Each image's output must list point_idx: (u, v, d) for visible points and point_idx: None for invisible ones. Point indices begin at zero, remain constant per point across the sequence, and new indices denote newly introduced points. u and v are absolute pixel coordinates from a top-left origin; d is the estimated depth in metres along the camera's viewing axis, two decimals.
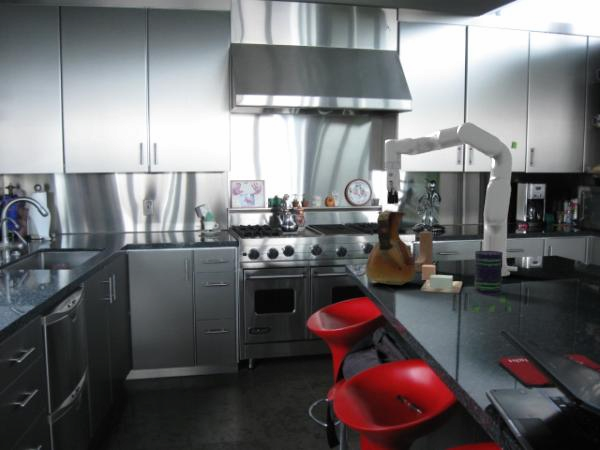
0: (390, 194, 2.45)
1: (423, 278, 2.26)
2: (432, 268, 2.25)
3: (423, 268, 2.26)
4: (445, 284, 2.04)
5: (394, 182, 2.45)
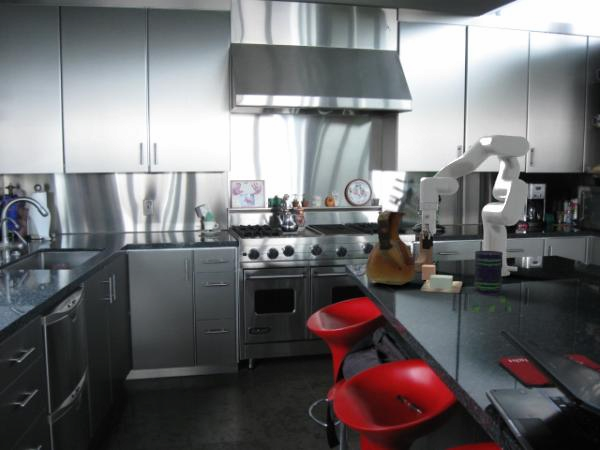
0: (426, 238, 2.21)
1: (423, 278, 2.26)
2: (432, 268, 2.25)
3: (423, 268, 2.26)
4: (445, 284, 2.04)
5: (430, 225, 2.21)
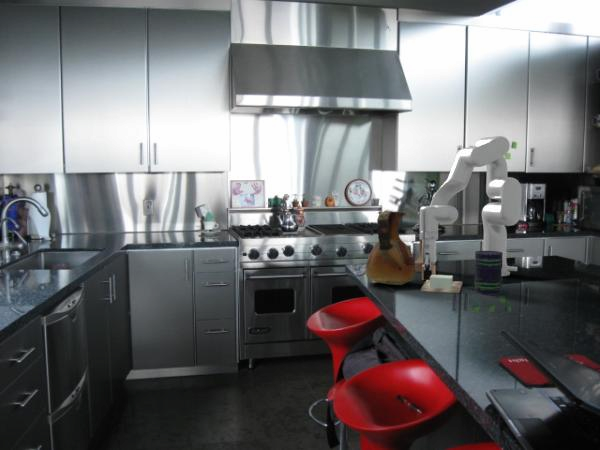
0: (427, 270, 2.24)
1: (423, 278, 2.26)
2: (432, 268, 2.25)
3: (423, 268, 2.26)
4: (445, 284, 2.04)
5: (431, 254, 2.22)
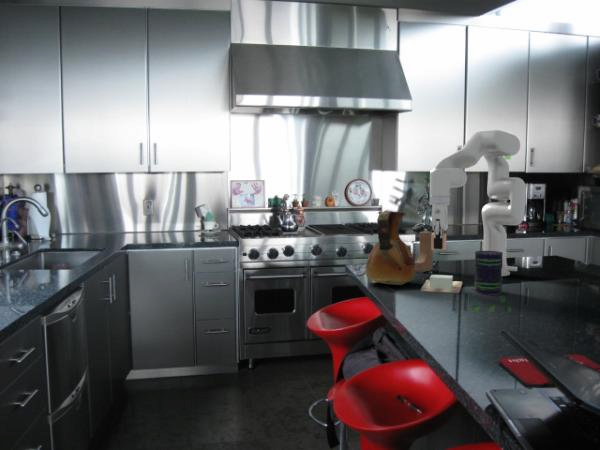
0: (437, 238, 2.05)
1: (433, 247, 2.08)
2: (443, 236, 2.06)
3: (433, 236, 2.07)
4: (445, 284, 2.04)
5: (442, 221, 2.03)
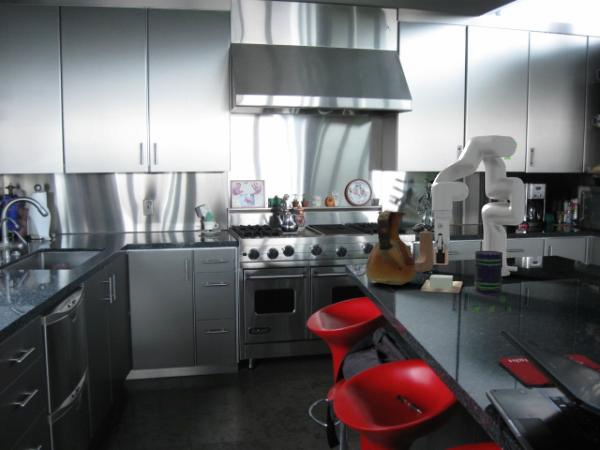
0: (440, 253, 2.03)
1: (435, 261, 2.05)
2: (445, 250, 2.03)
3: (435, 250, 2.05)
4: (445, 284, 2.04)
5: (444, 235, 2.01)
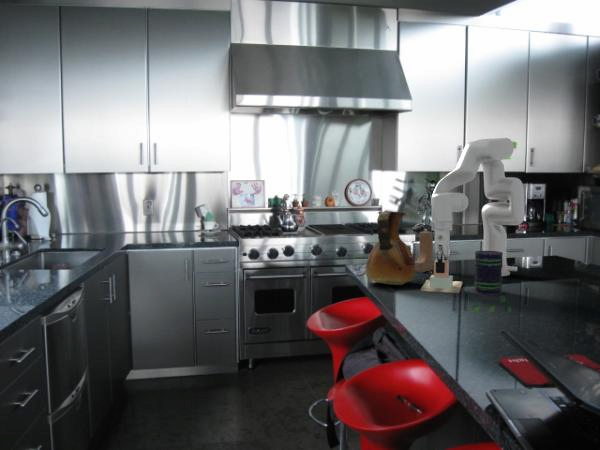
0: (440, 262, 2.01)
1: (435, 274, 2.06)
2: (445, 263, 2.04)
3: (435, 263, 2.05)
4: (445, 284, 2.04)
5: (444, 247, 2.01)
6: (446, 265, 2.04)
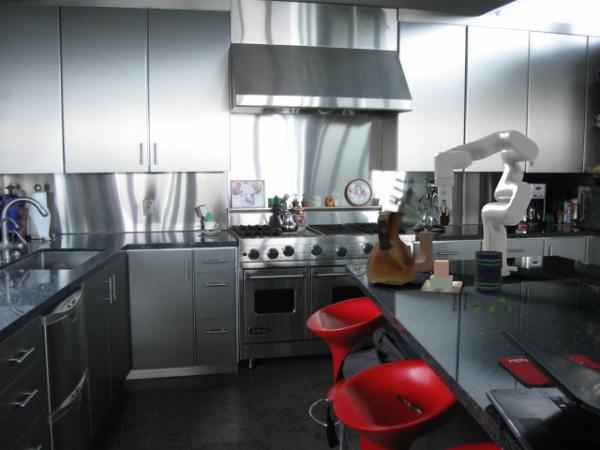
0: (444, 215, 2.16)
1: (435, 274, 2.06)
2: (445, 263, 2.04)
3: (435, 263, 2.05)
4: (445, 284, 2.04)
5: (448, 201, 2.16)
6: (446, 265, 2.04)
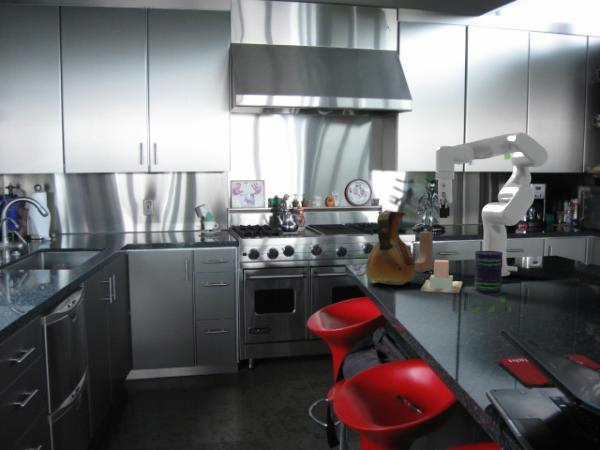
0: (443, 207, 2.20)
1: (435, 274, 2.06)
2: (445, 263, 2.04)
3: (435, 263, 2.05)
4: (445, 284, 2.04)
5: (447, 194, 2.20)
6: (446, 265, 2.04)
